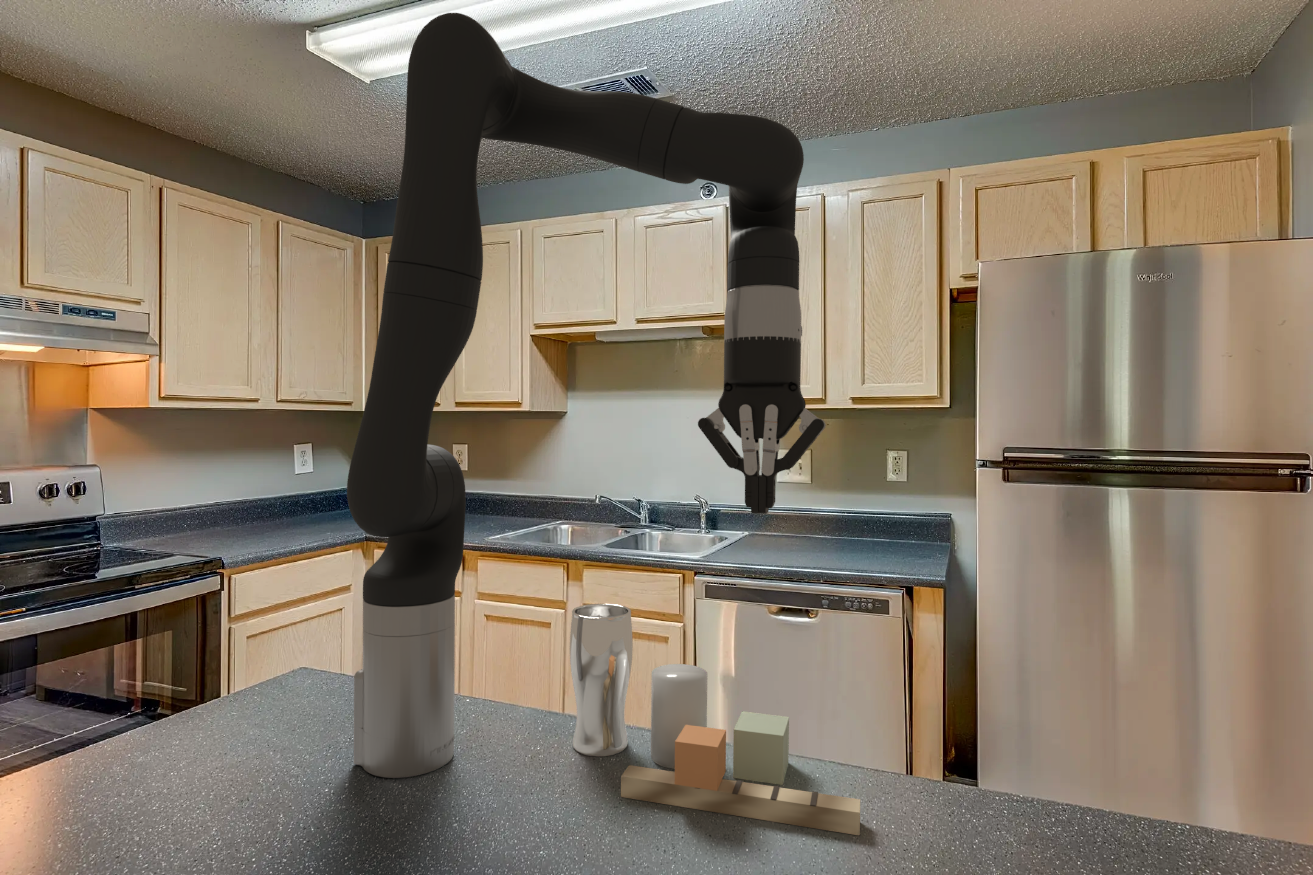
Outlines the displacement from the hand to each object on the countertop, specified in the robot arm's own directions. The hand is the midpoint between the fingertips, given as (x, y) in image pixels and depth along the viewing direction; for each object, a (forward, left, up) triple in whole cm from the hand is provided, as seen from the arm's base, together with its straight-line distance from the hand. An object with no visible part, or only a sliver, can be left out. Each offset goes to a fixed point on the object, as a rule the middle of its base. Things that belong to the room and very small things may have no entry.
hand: (760, 512), depth 73 cm
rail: (-1, -6, -27) cm, 28 cm away
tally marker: (-5, -6, -25) cm, 26 cm away
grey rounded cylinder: (-9, +4, -27) cm, 29 cm away
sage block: (0, +3, -27) cm, 27 cm away
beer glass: (-18, +4, -27) cm, 33 cm away
